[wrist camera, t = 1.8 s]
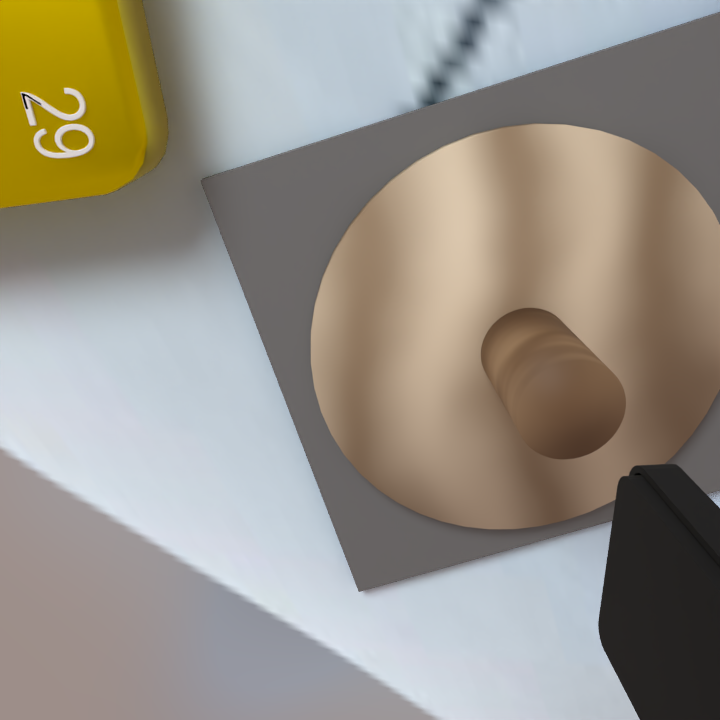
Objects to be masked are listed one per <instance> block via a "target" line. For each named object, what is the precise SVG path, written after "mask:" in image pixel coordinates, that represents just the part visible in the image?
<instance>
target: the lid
mask: <svg viewBox="0 0 720 720" xmlns="http://www.w3.org/2000/svg"><path fill="white" fill-rule="evenodd" d="M311 368H312V375H313V382H314V389H315V392H316V396H317V399H318V403H319V406H320V409H321V413H322V415H323V417H324V419H325V422H326V424H327V426H328V428H329V430H330V433H331V435H332V436H333V438H334V439H335V441H336V443H337V444H338V446H339V447H340V449H341V451H342V452H343V454H344V455H345V456H346V458H347V459H348V460H349V461H350V462H351V463H352V465H353V466H354V467H355V468H356V469H357V470H358V472H359V473H360V474H361V475H362V476H363V477H365V478H366V479H367V480H368V481H369V482H370V483H371V484H372V485H374V486H375V487H376V488H377V489H378V490H380V491H381V492H383V493H384V494H386V495H387V496H388V497H390V498H391V499H393V500H394V501H396V502H397V503H399V504H401V505H403V506H405V507H407V508H409V509H411V510H413V511H415V512H417V513H419V514H422V515H425V516H428V517H431V518H433V519H436V520H439V521H442V522H446V523H451V524H455V525H460V526H464V527H472V528H482V529H520V528H529V527H537V526H543V525H547V524H552V523H556V522H560V521H565V520H568V519H570V518H573V517H576V516H579V515H582V514H585V513H588V512H590V511H593V510H595V509H597V508H599V507H601V506H603V505H606V504H608V503H610V502H612V501H614V500H615V499H616V492H617V486H618V481H619V480H620V478H621V477H622V476H629V473H630V471H631V469H632V468H633V467H634V466H636V465H656V464H665V463H666V462H667V461H668V460H669V459H671V458H672V457H673V456H674V455H675V454H676V453H677V451H678V450H679V449H680V448H681V447H682V446H683V444H684V443H685V442H686V441H687V440H688V439H689V438H690V436H691V435H692V434H693V433H694V431H695V430H696V428H697V427H698V425H699V424H700V422H701V421H702V420H703V418H704V417H705V415H706V414H707V412H708V410H709V408H710V406H711V405H712V403H713V401H714V399H715V397H716V395H717V393H718V392H719V390H720V224H719V222H718V220H717V218H716V216H715V214H714V212H713V211H712V209H711V208H710V207H709V205H708V204H707V202H706V201H705V200H704V198H703V197H702V195H701V194H700V193H699V191H698V190H697V189H696V188H695V187H694V186H693V185H692V184H691V183H690V182H689V181H688V180H687V179H686V178H685V177H684V176H683V175H682V174H681V173H680V172H679V171H678V170H677V169H676V168H674V167H673V166H672V165H670V164H669V163H667V162H666V161H665V160H663V159H662V158H661V157H659V156H658V155H656V154H655V153H653V152H651V151H649V150H647V149H645V148H643V147H641V146H640V145H638V144H636V143H634V142H632V141H630V140H627V139H624V138H621V137H618V136H615V135H612V134H609V133H606V132H603V131H600V130H595V129H589V128H583V127H577V126H572V125H566V124H542V123H531V124H522V125H513V126H504V127H499V128H495V129H491V130H487V131H483V132H479V133H475V134H472V135H469V136H467V137H464V138H462V139H459V140H457V141H454V142H452V143H449V144H447V145H444V146H442V147H440V148H439V149H437V150H435V151H433V152H431V153H430V154H428V155H426V156H424V157H422V158H421V159H419V160H417V161H415V162H414V163H413V164H411V165H410V166H409V167H407V168H406V169H404V170H403V171H402V172H400V173H399V174H398V175H396V176H395V177H394V178H392V179H391V180H390V181H389V182H388V183H387V184H386V185H385V186H384V187H383V188H381V189H380V190H379V191H378V192H377V193H376V194H375V195H374V196H373V197H372V198H371V199H370V200H369V201H368V202H367V203H366V205H365V206H364V207H363V208H362V210H361V211H360V212H359V213H358V215H357V216H356V217H355V218H354V220H353V221H352V222H351V223H350V225H349V226H348V228H347V229H346V231H345V233H344V234H343V236H342V238H341V239H340V241H339V243H338V244H337V246H336V248H335V249H334V251H333V253H332V256H331V258H330V260H329V263H328V265H327V267H326V269H325V272H324V274H323V276H322V280H321V283H320V287H319V290H318V294H317V297H316V301H315V305H314V312H313V319H312V326H311Z"/></svg>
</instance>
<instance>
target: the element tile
mask: <svg viewBox="0 0 720 720" xmlns="http://www.w3.org/2000/svg"><path fill="white" fill-rule="evenodd" d="M167 140H168V119H167V114H166V109H165V105H164V100H163V95H162V91H161V86H160V82H159V77H158V72H157V68H156V63H155V58H154V54H153V49H152V45H151V40H150V35H149V31H148V26H147V21H146V17H145V12H144V8H143V3H142V0H0V209H1V208H9V207H16V206H24V205H31V204H39V203H47V202H54V201H62V200H69V199H77V198H85V197H92V196H100V195H107V194H109V193H112V192H115V191H117V190H119V189H121V188H123V187H124V186H126V185H128V184H130V183H131V182H133V181H135V180H136V179H138V178H140V177H142V176H143V175H145V174H146V173H148V172H149V171H151V170H153V169H154V168H156V166H157V165H158V163H159V162H160V160H161V159H162V157H163V156H164V154H165V151H166V145H167Z"/></svg>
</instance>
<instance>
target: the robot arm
mask: <svg viewBox="0 0 720 720" xmlns="http://www.w3.org/2000/svg"><path fill="white" fill-rule="evenodd" d="M598 626H599V635H600V640H601V643H602V646H603V648H604V651H605V653H606V654H607V656H608V658H609V660H610V662H611V664H612V666H613V668H614V670H615V672H616V674H617V676H618V678H619V680H620V682H621V684H622V686H623V688H624V689H625V691H626V693H627V695H628V697H629V699H630V701H631V703H632V705H633V707H634V709H635V711H636V713H637V715H638V717H639V719H640V720H720V508H719V507H718V506H717V505H716V504H715V503H714V502H713V501H712V500H711V499H710V498H709V497H708V496H707V495H706V493H705V492H704V491H703V490H702V489H701V488H700V487H699V486H698V485H697V484H696V483H695V482H694V481H693V480H692V479H691V478H690V477H689V476H688V475H687V474H686V473H685V472H684V471H683V470H682V468H680V467H679V466H678V465H676V464H656V465H636V466H634V467H633V468H632V469H631V471H630V473H629V476H622V477H621V478H620V480H619V481H618V486H617V492H616V499H615V507H614V514H613V521H612V528H611V535H610V543H609V550H608V557H607V564H606V571H605V578H604V586H603V593H602V600H601V607H600V614H599V624H598Z"/></svg>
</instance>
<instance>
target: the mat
mask: <svg viewBox="0 0 720 720" xmlns="http://www.w3.org/2000/svg"><path fill="white" fill-rule="evenodd" d="M531 123H542V124H566V125H572V126H577V127H583V128H589V129H595V130H600V131H603V132H606V133H609V134H612V135H615V136H618V137H621V138H624V139H627V140H630V141H632V142H634V143H636V144H638V145H640V146H641V147H643V148H645V149H647V150H649V151H651V152H653V153H655V154H656V155H658V156H659V157H661V158H662V159H663V160H665V161H666V162H667V163H669V164H670V165H672V166H673V167H674V168H676V169H677V170H678V171H679V172H680V173H681V174H682V175H683V176H684V177H685V178H686V179H687V180H688V181H689V182H690V183H691V184H692V185H693V186H694V187H695V188H696V189H697V190H698V191H699V193H700V194H701V195H702V197H703V198H704V200H705V201H706V202H707V204H708V205H709V207H710V208H711V209H712V211H713V212H714V214H715V216H716V218H717V220H718V222H719V224H720V12H718V13H715V14H712V15H709V16H706V17H703V18H700V19H696V20H693V21H690V22H687V23H684V24H681V25H678V26H675V27H672V28H669V29H665V30H662V31H659V32H656V33H653V34H650V35H647V36H644V37H641V38H638V39H634V40H631V41H628V42H625V43H622V44H619V45H616V46H613V47H610V48H607V49H603V50H600V51H597V52H594V53H591V54H588V55H585V56H582V57H579V58H576V59H572V60H569V61H566V62H563V63H560V64H557V65H554V66H551V67H548V68H545V69H542V70H538V71H535V72H532V73H529V74H526V75H523V76H520V77H517V78H514V79H511V80H507V81H504V82H501V83H498V84H495V85H492V86H489V87H486V88H483V89H480V90H476V91H473V92H470V93H467V94H464V95H461V96H458V97H455V98H452V99H449V100H445V101H442V102H439V103H436V104H433V105H430V106H427V107H424V108H421V109H418V110H414V111H411V112H408V113H405V114H402V115H399V116H396V117H393V118H390V119H387V120H383V121H380V122H377V123H374V124H371V125H368V126H365V127H362V128H359V129H356V130H352V131H349V132H346V133H343V134H340V135H337V136H334V137H331V138H328V139H325V140H321V141H318V142H315V143H312V144H309V145H306V146H303V147H300V148H297V149H294V150H291V151H287V152H284V153H281V154H278V155H275V156H272V157H269V158H266V159H263V160H260V161H256V162H253V163H250V164H247V165H244V166H241V167H238V168H235V169H232V170H229V171H225V172H222V173H219V174H216V175H213V176H210V177H207V178H204V179H202V180H201V183H202V186H203V188H204V191H205V194H206V196H207V199H208V201H209V204H210V207H211V209H212V212H213V214H214V217H215V220H216V222H217V225H218V227H219V230H220V233H221V235H222V238H223V240H224V243H225V246H226V248H227V251H228V253H229V256H230V259H231V261H232V264H233V266H234V269H235V272H236V274H237V277H238V279H239V282H240V284H241V287H242V290H243V292H244V295H245V297H246V300H247V303H248V305H249V308H250V310H251V313H252V316H253V318H254V321H255V323H256V326H257V329H258V331H259V334H260V336H261V339H262V342H263V344H264V347H265V349H266V352H267V355H268V357H269V360H270V362H271V365H272V368H273V370H274V373H275V375H276V378H277V380H278V383H279V386H280V388H281V391H282V393H283V396H284V399H285V401H286V404H287V406H288V409H289V412H290V414H291V417H292V419H293V422H294V425H295V427H296V430H297V432H298V435H299V438H300V440H301V443H302V445H303V448H304V451H305V453H306V456H307V458H308V461H309V464H310V466H311V469H312V471H313V474H314V477H315V479H316V482H317V484H318V487H319V489H320V492H321V495H322V497H323V500H324V502H325V505H326V508H327V510H328V513H329V515H330V518H331V521H332V523H333V526H334V528H335V531H336V534H337V536H338V539H339V541H340V544H341V547H342V549H343V552H344V554H345V557H346V560H347V562H348V565H349V567H350V570H351V573H352V575H353V578H354V580H355V583H356V585H357V588H358V591H359V592H360V591H364V590H367V589H371V588H375V587H378V586H382V585H385V584H389V583H392V582H396V581H399V580H403V579H407V578H410V577H414V576H417V575H421V574H424V573H428V572H431V571H435V570H439V569H442V568H446V567H449V566H453V565H456V564H460V563H463V562H467V561H471V560H474V559H478V558H481V557H485V556H488V555H492V554H495V553H499V552H503V551H506V550H510V549H513V548H517V547H520V546H524V545H527V544H531V543H535V542H538V541H542V540H545V539H549V538H552V537H556V536H559V535H563V534H567V533H570V532H574V531H577V530H581V529H584V528H588V527H591V526H595V525H599V524H602V523H606V522H609V521H613V514H614V507H615V500H614V501H612V502H610V503H608V504H606V505H603V506H601V507H599V508H597V509H595V510H593V511H590V512H588V513H585V514H582V515H579V516H576V517H573V518H570V519H568V520H565V521H560V522H556V523H552V524H547V525H543V526H537V527H529V528H520V529H482V528H472V527H464V526H460V525H455V524H451V523H446V522H442V521H439V520H436V519H433V518H431V517H428V516H425V515H422V514H419V513H417V512H415V511H413V510H411V509H409V508H407V507H405V506H403V505H401V504H399V503H397V502H396V501H394V500H393V499H391V498H390V497H388V496H387V495H386V494H384V493H383V492H381V491H380V490H378V489H377V488H376V487H375V486H374V485H372V484H371V483H370V482H369V481H368V480H367V479H366V478H365V477H363V476H362V475H361V474H360V473H359V472H358V470H357V469H356V468H355V467H354V466H353V465H352V463H351V462H350V461H349V460H348V459H347V458H346V456H345V455H344V454H343V452H342V451H341V449H340V447H339V446H338V444H337V443H336V441H335V439H334V438H333V436H332V435H331V433H330V430H329V428H328V426H327V424H326V422H325V419H324V417H323V415H322V413H321V409H320V406H319V403H318V399H317V396H316V392H315V389H314V382H313V375H312V368H311V326H312V319H313V312H314V305H315V301H316V297H317V294H318V290H319V287H320V283H321V280H322V276H323V274H324V272H325V269H326V267H327V265H328V263H329V260H330V258H331V256H332V253H333V251H334V249H335V248H336V246H337V244H338V243H339V241H340V239H341V238H342V236H343V234H344V233H345V231H346V229H347V228H348V226H349V225H350V223H351V222H352V221H353V220H354V218H355V217H356V216H357V215H358V213H359V212H360V211H361V210H362V208H363V207H364V206H365V205H366V203H367V202H368V201H369V200H370V199H371V198H372V197H373V196H374V195H375V194H376V193H377V192H378V191H379V190H380V189H381V188H383V187H384V186H385V185H386V184H387V183H388V182H389V181H390V180H391V179H392V178H394V177H395V176H396V175H398V174H399V173H400V172H402V171H403V170H404V169H406V168H407V167H409V166H410V165H411V164H413V163H414V162H415V161H417V160H419V159H421V158H422V157H424V156H426V155H428V154H430V153H431V152H433V151H435V150H437V149H439V148H440V147H442V146H444V145H447V144H449V143H452V142H454V141H457V140H459V139H462V138H464V137H467V136H469V135H472V134H475V133H479V132H483V131H487V130H491V129H495V128H499V127H504V126H513V125H522V124H531ZM665 464H676V465H678V466H679V467H680V468H682V470H683V471H684V472H685V473H686V474H687V475H688V476H689V477H690V478H691V479H692V480H693V481H694V482H695V483H696V484H697V485H698V486H699V487H700V488H701V489H702V490H703V491H704V492H705V493H706V494H709V493H712V492H716V491H719V490H720V390H719V392H718V393H717V395H716V397H715V399H714V401H713V403H712V405H711V406H710V408H709V410H708V412H707V414H706V415H705V417H704V418H703V420H702V421H701V422H700V424H699V425H698V427H697V428H696V430H695V431H694V433H693V434H692V435H691V436H690V438H689V439H688V440H687V441H686V442H685V443H684V444H683V446H682V447H681V448H680V449H679V450H678V451H677V453H676V454H675V455H674V456H673V457H672V458H671V459H669V460H668V461H667V462H666V463H665Z"/></svg>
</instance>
